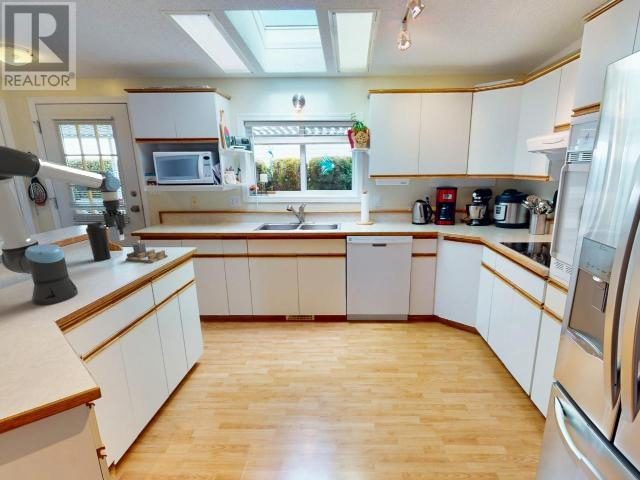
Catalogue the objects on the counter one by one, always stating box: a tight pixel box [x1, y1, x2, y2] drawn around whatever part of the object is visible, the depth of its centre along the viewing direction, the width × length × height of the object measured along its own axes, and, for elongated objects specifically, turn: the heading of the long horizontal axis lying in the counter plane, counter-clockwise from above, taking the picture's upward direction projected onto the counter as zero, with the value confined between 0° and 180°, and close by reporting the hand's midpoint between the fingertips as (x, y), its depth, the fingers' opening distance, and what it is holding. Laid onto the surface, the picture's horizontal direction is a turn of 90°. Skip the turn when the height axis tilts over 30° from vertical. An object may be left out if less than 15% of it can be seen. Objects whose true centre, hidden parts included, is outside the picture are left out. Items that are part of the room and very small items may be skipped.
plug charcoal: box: [132, 240, 147, 257], centre depth 183 cm, size 4×4×10 cm
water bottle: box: [85, 221, 112, 262], centre depth 182 cm, size 10×10×23 cm
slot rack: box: [125, 249, 169, 264], centre depth 184 cm, size 12×20×4 cm, turn 75°
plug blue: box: [108, 222, 126, 242], centre depth 171 cm, size 4×4×10 cm
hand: (118, 239), depth 172 cm, fingers closed on plug blue, 4 cm apart
